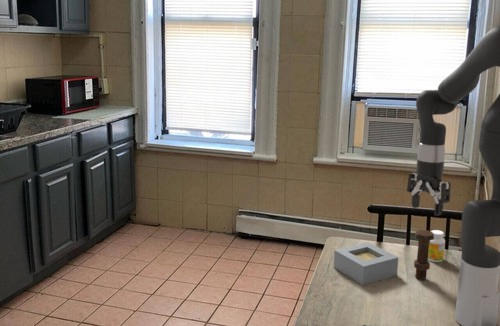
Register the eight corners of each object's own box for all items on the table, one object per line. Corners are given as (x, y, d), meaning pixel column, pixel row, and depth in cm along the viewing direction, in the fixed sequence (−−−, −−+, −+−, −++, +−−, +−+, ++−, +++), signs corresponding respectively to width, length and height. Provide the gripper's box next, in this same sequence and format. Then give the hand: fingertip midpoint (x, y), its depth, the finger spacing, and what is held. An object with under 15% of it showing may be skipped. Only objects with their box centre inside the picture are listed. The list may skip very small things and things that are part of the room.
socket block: (397, 275, 165) (398, 257, 164) (362, 284, 158) (363, 266, 157) (367, 258, 177) (368, 242, 175) (333, 267, 170) (334, 250, 169)
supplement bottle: (422, 257, 178) (425, 230, 176) (435, 254, 180) (437, 228, 178) (434, 263, 174) (437, 236, 171) (446, 260, 176) (449, 233, 173)
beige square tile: (382, 264, 166) (382, 259, 165) (364, 268, 162) (364, 264, 162) (366, 255, 172) (366, 251, 171) (348, 260, 168) (349, 255, 168)
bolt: (430, 283, 160) (434, 236, 156) (413, 281, 161) (417, 235, 157) (427, 274, 165) (432, 229, 162) (411, 273, 166) (415, 228, 163)
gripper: (459, 162, 150) (454, 216, 154) (421, 152, 162) (417, 203, 166) (441, 164, 146) (436, 220, 150) (403, 155, 158) (399, 206, 162)
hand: (426, 211), depth 158 cm, fingers open, 8 cm apart
